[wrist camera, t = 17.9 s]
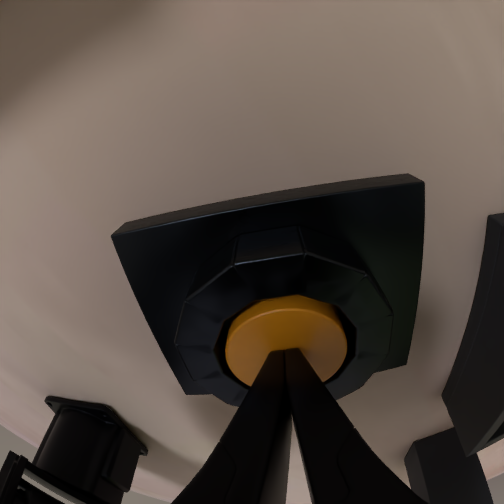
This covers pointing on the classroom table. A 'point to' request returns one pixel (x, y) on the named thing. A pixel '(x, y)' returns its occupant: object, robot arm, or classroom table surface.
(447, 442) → the charcoal rectangular prism
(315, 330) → the button
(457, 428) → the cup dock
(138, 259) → the button block
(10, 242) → the classroom table surface
